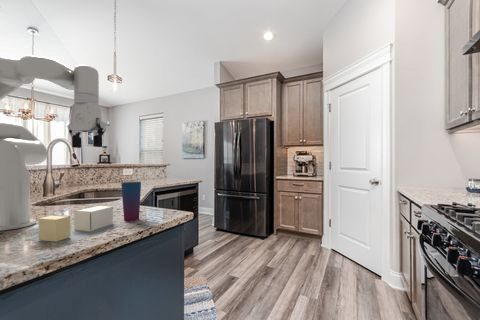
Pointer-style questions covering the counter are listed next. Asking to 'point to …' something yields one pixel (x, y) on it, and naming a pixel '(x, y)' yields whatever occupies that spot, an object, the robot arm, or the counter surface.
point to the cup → (131, 200)
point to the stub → (54, 228)
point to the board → (80, 234)
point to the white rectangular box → (93, 218)
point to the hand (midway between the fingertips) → (87, 147)
